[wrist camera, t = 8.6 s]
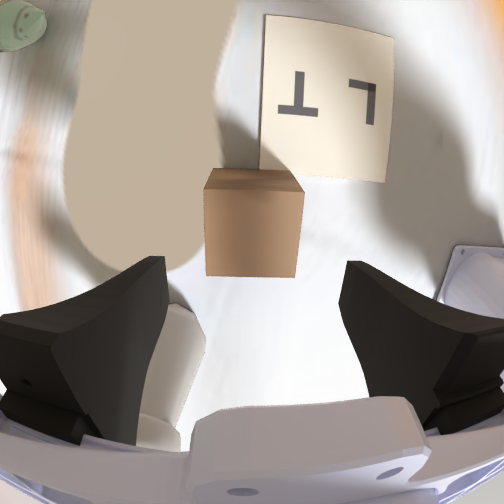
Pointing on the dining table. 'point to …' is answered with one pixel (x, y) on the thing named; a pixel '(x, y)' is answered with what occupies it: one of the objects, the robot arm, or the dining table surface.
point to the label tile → (326, 99)
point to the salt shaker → (170, 379)
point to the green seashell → (20, 24)
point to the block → (252, 222)
